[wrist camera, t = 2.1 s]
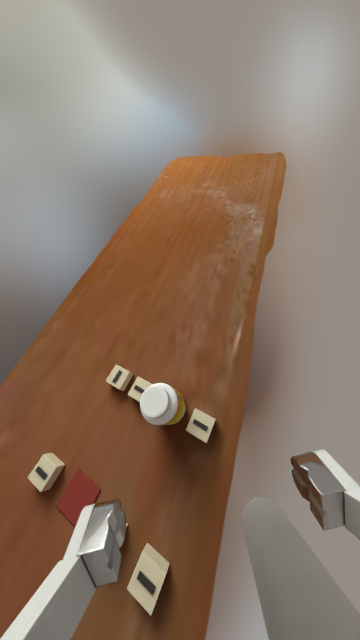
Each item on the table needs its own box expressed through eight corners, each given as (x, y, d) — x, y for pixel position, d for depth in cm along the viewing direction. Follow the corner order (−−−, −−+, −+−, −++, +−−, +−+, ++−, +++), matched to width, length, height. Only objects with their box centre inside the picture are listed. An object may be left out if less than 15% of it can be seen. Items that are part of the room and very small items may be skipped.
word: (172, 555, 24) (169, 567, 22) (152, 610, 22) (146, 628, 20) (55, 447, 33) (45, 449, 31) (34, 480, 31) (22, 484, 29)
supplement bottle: (192, 402, 33) (182, 394, 24) (174, 432, 31) (157, 436, 22) (167, 384, 35) (150, 371, 26) (149, 411, 33) (125, 407, 24)
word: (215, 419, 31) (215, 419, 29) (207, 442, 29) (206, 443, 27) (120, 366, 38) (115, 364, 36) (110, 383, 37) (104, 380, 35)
